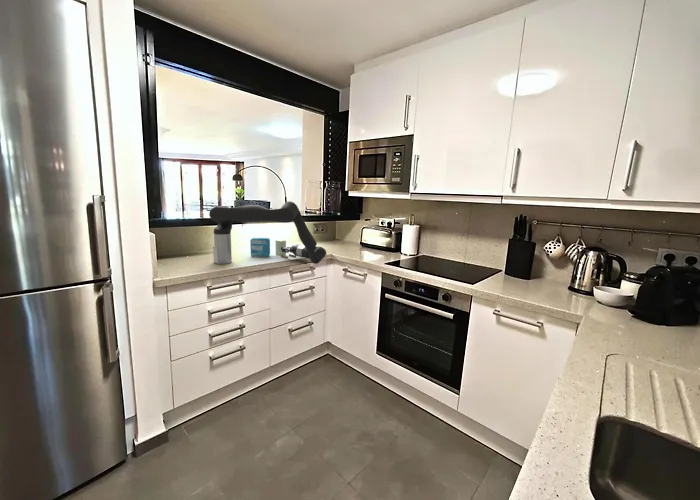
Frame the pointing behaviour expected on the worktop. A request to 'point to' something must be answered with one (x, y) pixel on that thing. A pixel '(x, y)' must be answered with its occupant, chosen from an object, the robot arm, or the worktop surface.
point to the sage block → (278, 247)
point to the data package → (260, 247)
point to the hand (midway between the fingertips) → (287, 247)
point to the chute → (287, 257)
